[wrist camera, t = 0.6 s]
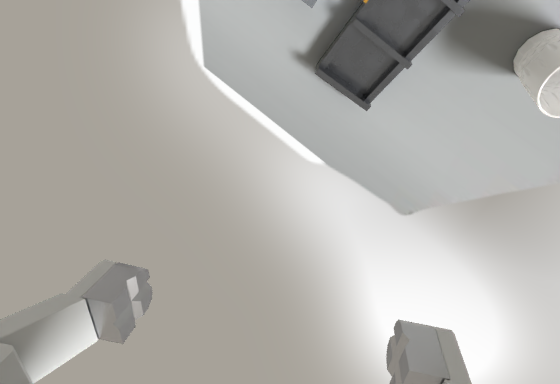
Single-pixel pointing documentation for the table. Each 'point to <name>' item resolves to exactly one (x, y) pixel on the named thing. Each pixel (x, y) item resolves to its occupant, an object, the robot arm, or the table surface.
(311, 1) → the grey upright block
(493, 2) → the table surface
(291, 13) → the table surface
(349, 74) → the rack
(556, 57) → the white cup
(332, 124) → the table surface
